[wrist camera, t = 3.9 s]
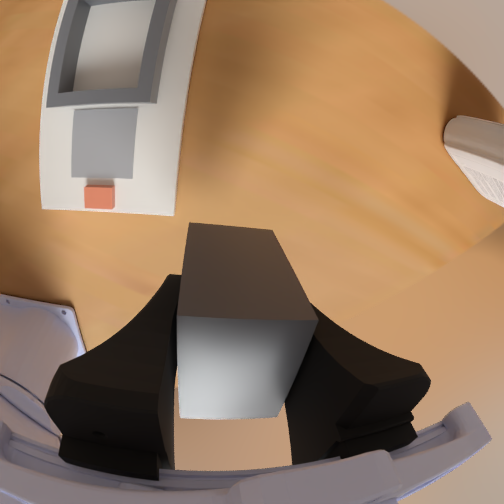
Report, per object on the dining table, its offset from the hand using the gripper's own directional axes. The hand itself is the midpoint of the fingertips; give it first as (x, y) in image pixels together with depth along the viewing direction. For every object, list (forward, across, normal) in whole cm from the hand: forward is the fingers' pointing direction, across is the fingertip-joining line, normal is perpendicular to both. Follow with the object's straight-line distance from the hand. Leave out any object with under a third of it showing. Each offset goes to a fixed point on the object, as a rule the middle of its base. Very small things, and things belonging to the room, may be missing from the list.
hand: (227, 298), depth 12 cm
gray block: (+2, 0, 0) cm, 2 cm away
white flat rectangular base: (+9, +8, -8) cm, 15 cm away
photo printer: (+9, -22, -10) cm, 26 cm away
